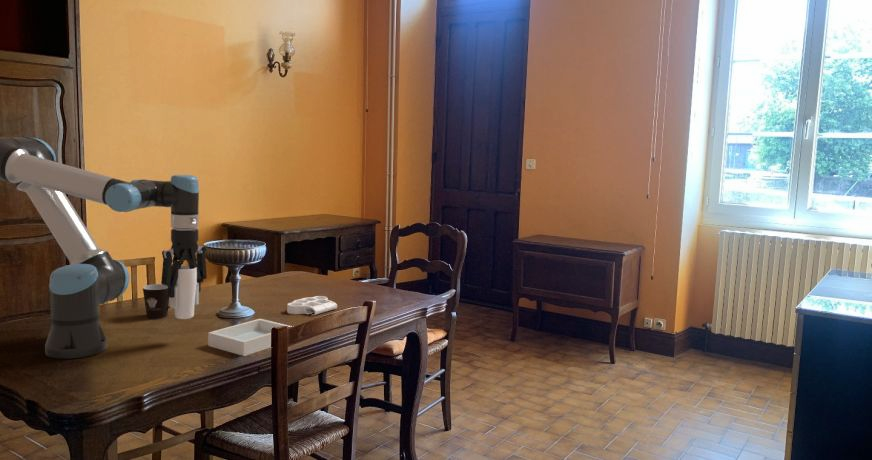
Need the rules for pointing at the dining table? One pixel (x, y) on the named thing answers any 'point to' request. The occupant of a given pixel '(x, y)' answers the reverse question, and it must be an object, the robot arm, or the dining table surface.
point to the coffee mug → (156, 300)
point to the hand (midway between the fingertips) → (184, 305)
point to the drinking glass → (186, 292)
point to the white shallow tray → (244, 337)
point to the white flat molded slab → (311, 305)
